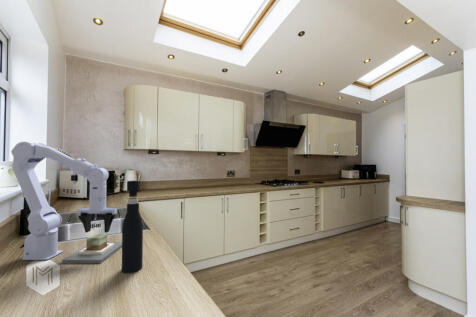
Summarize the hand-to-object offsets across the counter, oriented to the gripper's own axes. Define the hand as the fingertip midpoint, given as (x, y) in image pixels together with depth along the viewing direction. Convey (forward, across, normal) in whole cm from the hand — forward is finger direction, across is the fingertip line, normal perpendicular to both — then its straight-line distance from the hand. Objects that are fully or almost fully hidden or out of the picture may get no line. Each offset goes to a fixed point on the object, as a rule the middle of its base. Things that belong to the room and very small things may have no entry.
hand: (97, 231), depth 89 cm
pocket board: (+8, 0, 0) cm, 8 cm away
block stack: (+7, 0, 0) cm, 7 cm away
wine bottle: (+8, +20, -13) cm, 25 cm away
